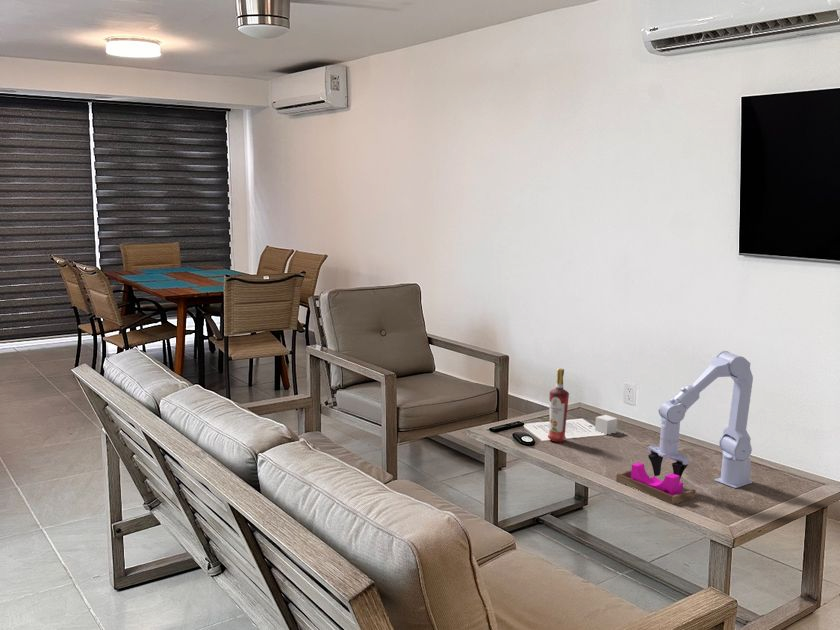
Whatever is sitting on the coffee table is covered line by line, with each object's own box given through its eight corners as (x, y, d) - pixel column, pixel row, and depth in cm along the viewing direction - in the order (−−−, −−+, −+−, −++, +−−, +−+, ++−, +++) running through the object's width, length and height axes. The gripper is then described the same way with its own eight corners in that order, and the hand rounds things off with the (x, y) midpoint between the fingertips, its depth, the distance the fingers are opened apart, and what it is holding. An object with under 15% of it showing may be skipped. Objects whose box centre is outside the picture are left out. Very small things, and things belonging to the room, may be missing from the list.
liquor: (544, 441, 293) (547, 369, 288) (550, 436, 299) (554, 366, 294) (562, 444, 289) (566, 372, 285) (569, 439, 295) (572, 368, 291)
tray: (638, 475, 259) (638, 468, 259) (695, 497, 241) (695, 490, 240) (616, 481, 253) (616, 473, 253) (672, 504, 235) (673, 497, 234)
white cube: (616, 433, 306) (617, 418, 305) (606, 435, 302) (607, 420, 301) (604, 429, 310) (605, 414, 309) (594, 431, 307) (595, 416, 306)
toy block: (682, 496, 242) (684, 474, 241) (671, 501, 238) (672, 478, 237) (641, 482, 253) (643, 460, 252) (630, 486, 249) (631, 464, 248)
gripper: (643, 434, 251) (640, 474, 253) (680, 447, 239) (677, 488, 241) (657, 431, 255) (654, 470, 257) (694, 443, 243) (691, 484, 245)
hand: (666, 479), depth 250 cm, fingers open, 7 cm apart
